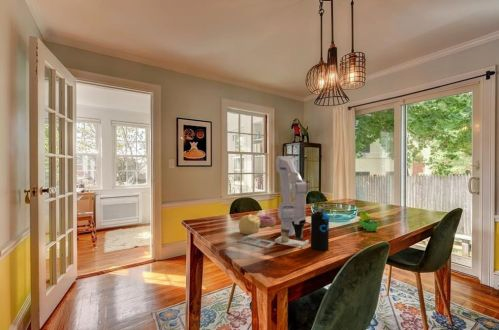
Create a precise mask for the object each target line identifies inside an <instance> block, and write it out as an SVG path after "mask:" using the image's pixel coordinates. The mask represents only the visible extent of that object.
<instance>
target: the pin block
mask: <svg viewBox="0 0 499 330" xmlns="http://www.w3.org/2000/svg"><path fill="white" fill-rule="evenodd" d="M247 240H252V241H253V242H250V241H247ZM237 242H238V243H240V244H245V245H249V246H254V247H259V248H263V249H269V248H271V247H272V246H274V245H276V244H277V243H276V242H275V241H271V240H266V239H262V238H261V239H260V238H256V237H252V236H249V235H247V236H246V237H244V238H241V239H238V240H237ZM259 243H260V244H259ZM261 243H266V245H263V244H261Z"/></svg>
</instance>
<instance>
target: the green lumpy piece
mask: <svg viewBox="0 0 499 330" xmlns="http://www.w3.org/2000/svg"><path fill="white" fill-rule="evenodd" d="M359 215H360V218H358V220H359V224H360V228H362V227H363V228H362V229H364V230H365V229H366V230H365V231H366V232H376V231H377V229H378V227H379V225H380V223H379V222H378V221H375V220H373V219H371V215H370V214H369V213H367V212H366V210H362V211H360V213H359Z"/></svg>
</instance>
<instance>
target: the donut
mask: <svg viewBox="0 0 499 330" xmlns="http://www.w3.org/2000/svg"><path fill="white" fill-rule="evenodd" d="M256 216H257V215H256ZM257 217H259V218H260V226H259V228H270V227H275V225H276V223H277V220H276V218H275V216H270V215H258V216H257Z"/></svg>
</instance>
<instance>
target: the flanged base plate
mask: <svg viewBox="0 0 499 330" xmlns="http://www.w3.org/2000/svg"><path fill="white" fill-rule="evenodd" d="M281 237H282V235H280V236H278V237H277V238H275V239H274V242H276V244H278V245H279V244H280V245H286V246H289V247H290V246H291V247H295V248H300V249H304V248H305V247H306V246H308V244H310V240H309V239H306V240H304V241H303V240H295V239H291V238H289V242H282V241H281Z"/></svg>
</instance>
